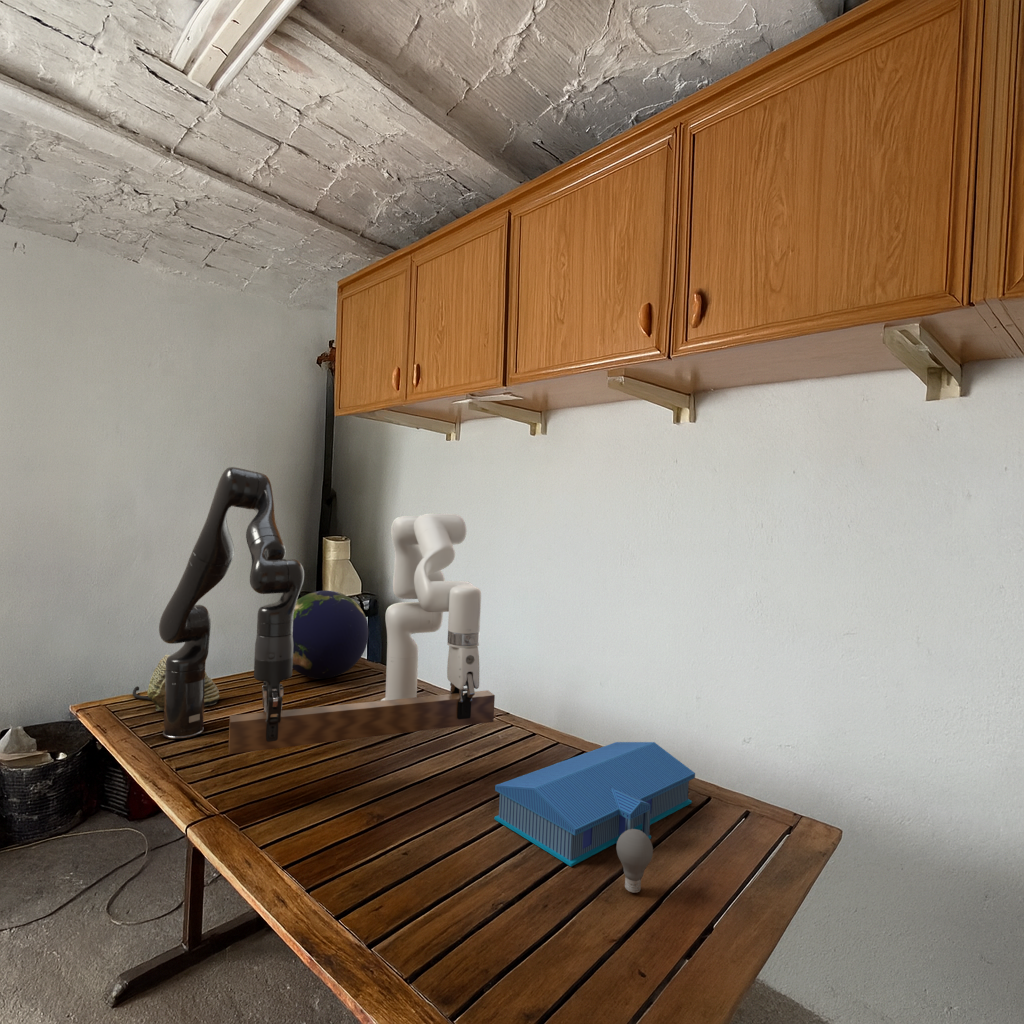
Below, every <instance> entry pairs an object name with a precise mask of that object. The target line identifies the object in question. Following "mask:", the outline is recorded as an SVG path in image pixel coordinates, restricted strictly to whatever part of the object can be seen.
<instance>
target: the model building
mask: <svg viewBox="0 0 1024 1024" xmlns="http://www.w3.org/2000/svg"><path fill="white" fill-rule="evenodd" d="M695 778H696V772H694V771H693V770H692V769H690V768H689V767H688V766H687V765H685V764H684V763H683V762H681V761H680V760H678V758H676V757H675V756H674V755H672V754H670V753H669V752H668V751H667V750H665V749H664V748H663V747H662V746H660V745H659V744H658V743H656V742H655V741H615V742H613V743H610V744H606V745H603V746H601V747H599V748H596V749H594V750H590V751H587V752H584V753H582V754H579V755H576V756H573V757H570V758H567V759H565V760H562V761H560V762H559V761H558V762H556V763H553V764H551V765H549V766H548V765H547V766H546V767H543V768H541V769H537V770H534V771H531V772H529V773H526V774H523V775H520V776H518V777H515V778H511V779H509V780H507V781H503V782H501V783H498V784H495V785H494V791H495V792H496V793H498V794H499V801H498V802H499V803H498V804H499V805H498V814H497V815H495V816H494V818H493V819H494V821H496V822H498V823H499V824H501V825H503V826H505V827H506V828H508V829H509V830H510V831H513V832H514V833H515V834H517V835H519V836H520V837H522V838H524V839H525V840H527V841H529V842H530V843H532V844H534V845H535V846H537V847H538V848H540V849H542V850H543V851H545V852H546V853H548V854H550V855H551V856H552V857H555V858H556V859H558V860H559V861H561V862H563V863H564V864H566V865H567V866H569V867H572V868H573V866H575V865H577V864H579V863H582V862H583V861H585V860H587V859H589V858H590V857H593V856H594V855H596V854H598V853H600V852H602V851H604V850H606V849H607V848H608V849H609V848H610V847H612V846H613V845H615V844H616V845H617V841H618V839H619V837H620V835H621V834H622V833H623V832H625V831H627V830H629V829H637V830H640V831H642V832H644V833H645V834H646V835H647V836H648V838H649V839H650V840H652V835H651V834H650V829H651V828H650V827H651V825H653V824H655V823H657V822H658V821H661V820H663V819H665V818H666V817H668V816H670V815H672V814H674V813H675V812H678V811H679V810H681V809H683V808H685V807H687V806H689V805H691V804H693V800H691V799H689V786H690V785H689V784H690V783H689V782H690V781H692V780H693V779H695Z"/></svg>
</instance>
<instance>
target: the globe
mask: <svg viewBox="0 0 1024 1024" xmlns="http://www.w3.org/2000/svg"><path fill="white" fill-rule="evenodd" d="M368 641H369V623H368V620H367V617H366V614H365V612H364V611H363V609H362V608H361V606H360V605H359V604H358V603H357V602H356V600H354V599H353V598H351V597H350V596H348V595H346V594H344V593H341V592H339V591H335V590H318V591H312V592H309V593H307V594H305V595H302V596H301V597H299V598H298V599H297V602H296V606H295V610H294V615H293V668H292V670H294V671H295V672H296V673H297V674H300V675H302V676H303V677H307V678H310V679H316V680H324V679H331V678H335V677H338V676H340V675H342V674H344V673H346V672H348V671H349V670H351V669H352V668H353V667H354V666H355V665H357V663H358V662H359V661H360V660H361V658H362V656H363V654H364V652H365V650H366V648H367V645H368Z"/></svg>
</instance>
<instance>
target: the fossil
mask: <svg viewBox="0 0 1024 1024" xmlns="http://www.w3.org/2000/svg"><path fill="white" fill-rule="evenodd" d="M170 655H171V654H165V655H164V656H163V657H162V658H161V659H160V660H159V662H158V663H157V666H156V667H155V669H154V670H153V672H152V675H151V677H150V680H149V684H148V688H147V697H149V698H150V699H151V700H150V701H152V703H153V704H154V706H155V711H158V712H159V711H162V712H163V711H164V705H165V674H166V660H167V658H168V657H169V656H170ZM220 698H221V696H220V690H219V688H218V686H217V685H216V683H215V682H214V681H213V679H212V678H211V677H209V675H208V674H207V672H206V671H205V693H204V707H207V706H213V705H215V704H217V703H218V701H219V699H220Z"/></svg>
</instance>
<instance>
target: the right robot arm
mask: <svg viewBox="0 0 1024 1024" xmlns="http://www.w3.org/2000/svg"><path fill="white" fill-rule="evenodd" d="M390 534H391V535H390V536H391V542H392V545H393V548H394V567H393V578H392V591H393V594H394V596H395V597H396V598H397V599H402V600H418V601H403V602H396V603H395V602H394V603H392V604H391V605H389V606H388V607H387V609H386V611H385V615H384V617H385V627H386V642H387V643H386V670H385V671H386V673H385V694H384V696H385V697H383V698H381V699H380V701H384V700H395V699H405V698H415V697H418V675H419V646H418V644H417V642H416V640H414V639H413V637H412V635H415V634H427V633H436V632H437V631H440V629H441V627H442V625H443V619H444V613H448V619H447V620H448V621H447V640H446V641H447V646H448V653H447V665H446V666H447V667H446V674H447V675H446V676H447V680H448V681H449V682H450V683H449V684H450V690H449V694H456V693H459V702H458V708H457V718H458V719H467V718H470V717H471V702H472V697H473V696H474V695H475V692H476V690H477V689H479V688H480V651H479V646H480V636H481V635H480V633H481V632H480V629H481V612H482V611H481V609H482V590H481V589H480V588H479V587H477V586H474V584H473V583H471V582H469V581H466V580H446V578H445V575H444V573H443V571H442V570H444V569H447V567H449V566H451V564H452V563H453V562H454V560H455V557H456V550H455V547H454V546H455V545H460V544H463V542H464V541H465V540H466V537H467V524H466V522H465V520H464V518H463V517H462V516H461V515H459V514H457V513H441V512H440V513H438V512H437V513H436V512H429V513H423V514H421V515H401V516H397V517H396V518H394V520H393V521H392V523H391V528H390ZM466 692H467V693H466ZM463 693H464V695H463Z"/></svg>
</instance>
